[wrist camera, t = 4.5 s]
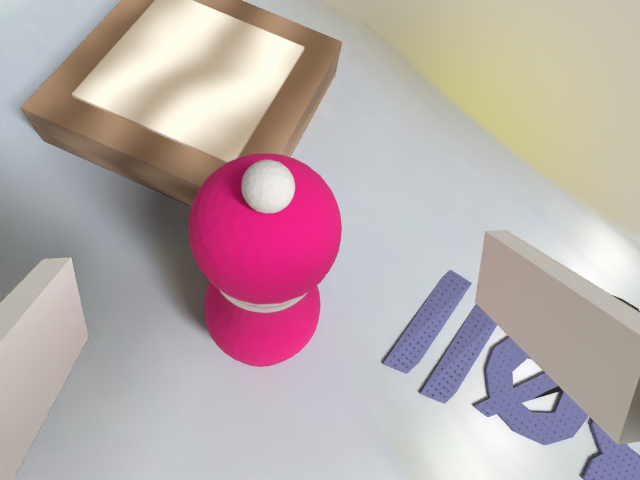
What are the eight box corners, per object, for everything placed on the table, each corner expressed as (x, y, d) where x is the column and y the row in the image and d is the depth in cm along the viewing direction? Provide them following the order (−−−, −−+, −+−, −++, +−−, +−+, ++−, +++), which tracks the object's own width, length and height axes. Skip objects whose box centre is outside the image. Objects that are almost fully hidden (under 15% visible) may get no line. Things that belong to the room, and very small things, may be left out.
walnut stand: (44, 141, 36) (18, 104, 32) (163, 4, 43) (154, -39, 39) (249, 231, 35) (248, 205, 31) (334, 75, 42) (342, 39, 39)
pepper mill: (216, 383, 30) (155, 300, 12) (205, 282, 33) (143, 89, 15) (321, 363, 32) (407, 263, 14) (302, 268, 34) (353, 76, 16)
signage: (790, 509, 31) (757, 660, 27) (779, 507, 32) (746, 655, 28) (453, 262, 36) (383, 362, 32) (449, 265, 36) (381, 364, 33)
